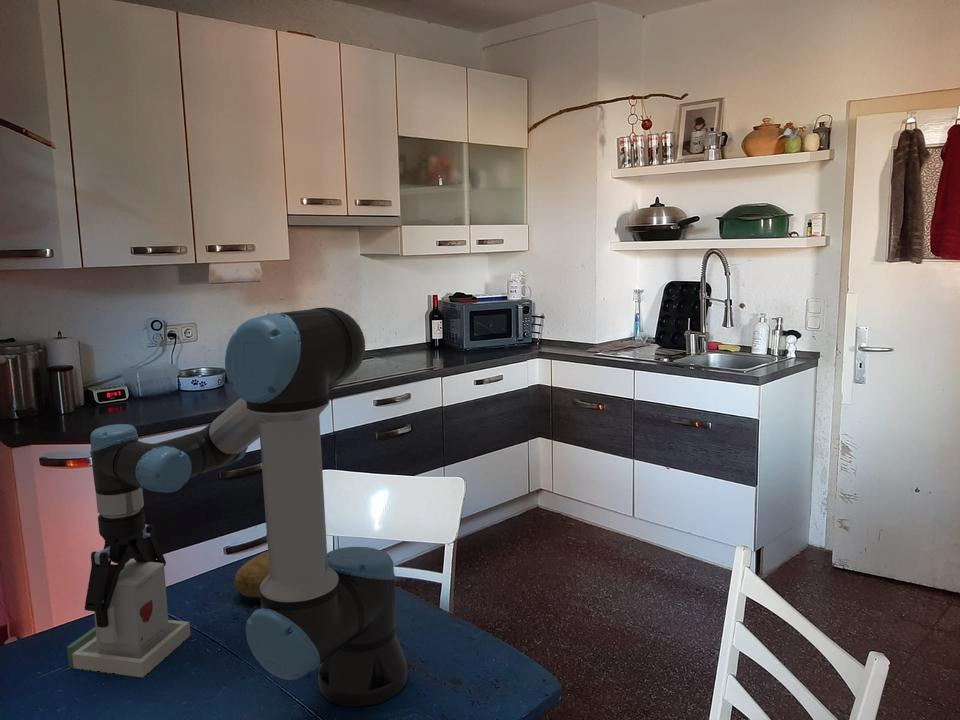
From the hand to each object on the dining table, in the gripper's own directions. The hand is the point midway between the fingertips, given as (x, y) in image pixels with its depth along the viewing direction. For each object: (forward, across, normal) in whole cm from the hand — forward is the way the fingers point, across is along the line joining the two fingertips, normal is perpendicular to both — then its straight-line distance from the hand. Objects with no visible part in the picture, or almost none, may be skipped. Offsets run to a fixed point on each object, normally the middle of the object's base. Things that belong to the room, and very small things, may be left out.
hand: (131, 623), depth 137 cm
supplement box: (+5, 0, 0) cm, 5 cm away
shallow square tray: (+5, 0, 0) cm, 5 cm away
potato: (+6, -26, +12) cm, 29 cm away
